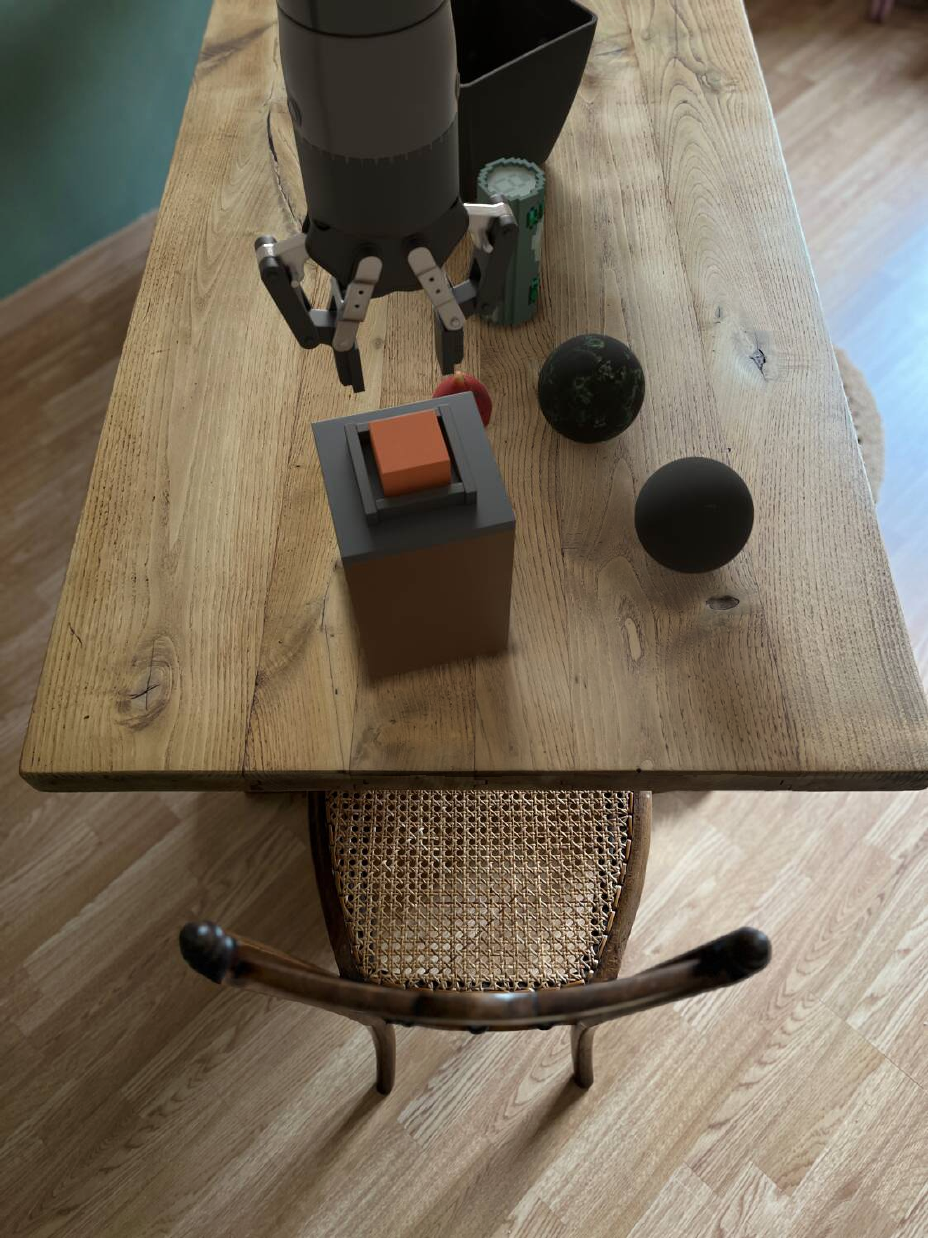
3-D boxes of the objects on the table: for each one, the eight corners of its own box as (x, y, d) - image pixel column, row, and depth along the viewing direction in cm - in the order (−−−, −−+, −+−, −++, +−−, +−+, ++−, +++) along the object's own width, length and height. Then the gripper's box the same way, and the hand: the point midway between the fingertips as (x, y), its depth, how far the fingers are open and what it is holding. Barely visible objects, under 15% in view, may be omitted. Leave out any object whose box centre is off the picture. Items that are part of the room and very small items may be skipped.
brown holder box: (370, 681, 77) (338, 546, 59) (343, 564, 83) (307, 409, 65) (507, 649, 78) (517, 508, 61) (472, 536, 84) (472, 376, 66)
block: (385, 501, 63) (381, 474, 60) (372, 450, 65) (368, 422, 62) (451, 487, 63) (450, 460, 60) (435, 437, 65) (433, 408, 63)
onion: (502, 426, 90) (504, 367, 83) (471, 466, 88) (471, 408, 81) (452, 402, 92) (451, 343, 85) (420, 441, 90) (416, 382, 83)
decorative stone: (574, 371, 94) (584, 293, 85) (656, 419, 91) (675, 343, 82) (513, 430, 90) (517, 355, 81) (596, 482, 87) (610, 410, 78)
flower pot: (463, 232, 104) (460, 85, 90) (365, 152, 112) (348, 3, 97) (586, 165, 110) (603, 15, 95) (486, 92, 117) (487, -56, 102)
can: (546, 311, 98) (557, 185, 85) (497, 333, 96) (501, 208, 83) (515, 278, 101) (521, 150, 87) (467, 298, 99) (466, 171, 86)
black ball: (753, 583, 81) (787, 518, 73) (645, 604, 80) (666, 540, 72) (715, 494, 86) (742, 422, 77) (612, 513, 85) (628, 443, 76)
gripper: (506, 29, 44) (498, 310, 58) (203, 76, 42) (274, 352, 57) (552, 123, 40) (531, 396, 55) (223, 178, 38) (293, 444, 53)
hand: (400, 372), depth 56 cm, fingers open, 5 cm apart
